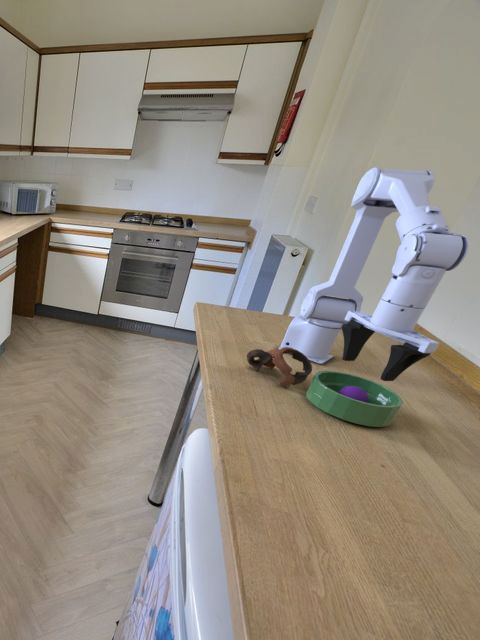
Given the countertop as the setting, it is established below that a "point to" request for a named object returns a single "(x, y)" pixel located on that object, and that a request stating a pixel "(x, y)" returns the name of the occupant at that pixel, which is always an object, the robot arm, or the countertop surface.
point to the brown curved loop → (281, 364)
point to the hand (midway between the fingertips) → (366, 369)
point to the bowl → (373, 413)
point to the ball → (355, 393)
